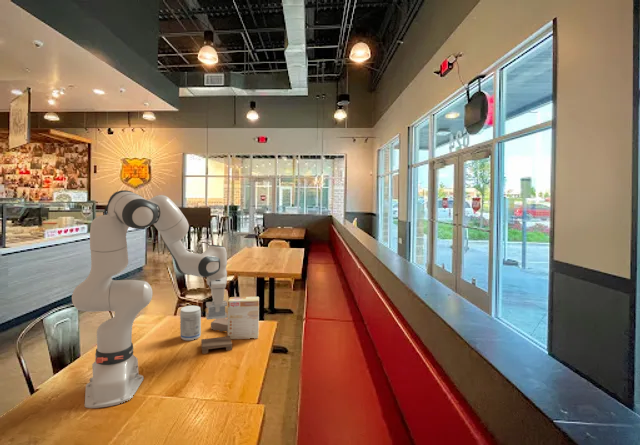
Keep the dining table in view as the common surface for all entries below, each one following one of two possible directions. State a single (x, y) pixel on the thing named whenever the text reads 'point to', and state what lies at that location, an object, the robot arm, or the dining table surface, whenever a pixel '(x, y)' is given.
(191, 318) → the supplement tub
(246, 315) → the coffeecake box
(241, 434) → the dining table surface
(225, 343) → the stand
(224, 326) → the brick
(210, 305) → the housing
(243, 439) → the dining table surface
